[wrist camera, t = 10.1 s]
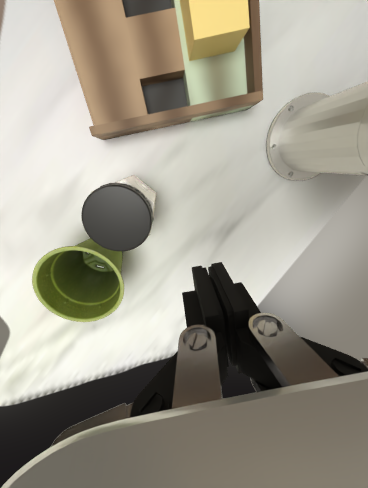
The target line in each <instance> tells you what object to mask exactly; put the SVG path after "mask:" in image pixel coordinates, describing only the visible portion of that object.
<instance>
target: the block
mask: <svg viewBox="0 0 368 488" xmlns="http://www.w3.org/2000/svg"><path fill="white" fill-rule="evenodd" d="M180 6H181V12H182V19H183V25H184V32H185V38H186V44H187V51H188V57H189V61H193V60H197V59H202V58H206V57H211V56H215V55H220V54H224V53H229V52H233V51H235V50H236V48H237V47H238V45H239V44H240V42H241V40H242V39H243V37H244V36H245V34H246V33H247V31H248V29H249V28H250V26H249V10H248V0H180Z"/></svg>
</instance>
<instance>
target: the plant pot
mask: <svg viewBox="0 0 368 488" xmlns="http://www.w3.org/2000/svg"><path fill="white" fill-rule="evenodd" d="M86 252H88V253H89V254H87V253H86ZM96 265H98V266H102V267H104V269H102V268H98V267H96ZM121 267H122V251H112V250H108V249H106V248H103V247H101V246H100V245H98V244H97V243H95V242H94V241H93V240H92V239H88V240H86V241H84V242H82V243H80V244H78V245H76V246H68V247H62V248H58V249H55V250H53V251H50V252H49V253H47V254H46V255H44V256H43V257H42V258H41V259H40V260H39V261H38V263H37V264H36V266H35V268H34V271H33V276H32V284H33V288H34V291H35V293H36V296H37V297H38V299H39V300H40V302H41V303H42V304H43V305H44V306H45V307H46V308H47V309H48V310H49V311H51V312H52V313H54V314H56V315H58V316H60V317H62V318H64V319H68V320H71V321H77V322H91V321H96V320H99V319H102V318H104V317H107V316H108V315H110V314H111V313H112V312H114V311H115V310H116V309H117V308H118V306H119V305H120V303H121V301H122V299H123V295H124V282H123V279H122V276H121Z"/></svg>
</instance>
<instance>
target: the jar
mask: <svg viewBox="0 0 368 488" xmlns="http://www.w3.org/2000/svg"><path fill="white" fill-rule="evenodd" d="M155 201H156V192H155V191H154V190H152V189H151V188H150V187H149V186H147V185H146V184H145V183H144V182H142V181H141V180H140V179H139V178H137V177H136V176H135V175H132V176H130V177H127V178H125V179H122V180H120V181H117V182H115V183H109V184H106V185H103V186H100V188H98V189H96V190H94V191H93V192H91V193H90V195H89V196H88V197H87V199H86V200H85V202H84V205H83V208H82V222H83V226H84V228H85V230H86V232H87V234H88V235H89V237H90V238H91V239H92V240H93V241H94V242H95V243H97V244H98V245H100V246H101V247H103V248H106V249H108V250H112V251H128V250H131V249H134V248H136V247H138V246H139V245H141V244H142V243H143V242H144V241H145V240H146V238H147V237H148V236H149V235H150V233H151V228H152V223H153V218H154V209H155Z"/></svg>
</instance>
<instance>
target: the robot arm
mask: <svg viewBox="0 0 368 488" xmlns="http://www.w3.org/2000/svg"><path fill="white" fill-rule="evenodd" d="M288 109H289V111H288ZM272 146H273V148H271V147H272ZM267 155H268V159H269V162H270V164H271V166H272V167H273V169H274V170H275V171H276V172H277V173H278V174H279V175H280V176H282V177H284V178H286V179H289V180H296V181H299V180H307V179H311V178H313V177H315V176H317V175H319V174H320V173H336V174H351V175H367V176H368V81H367V82H365V83H362V84H360V85H357V86H355V87H352V88H350V89H347V90H345V91H342V92H340V93H337V94H335V95H332V96H328V95H326V94H323V93H308V94H305V95H302V96H299V97H297V98H295V99H293V100H292V101H291V102H289V103H288V104H286V105H285V106H284V107H283V108H282V109H281V110H280V112H279V113H278V114H277V116H276V117H275V119H274V121H273V123H272V125H271V127H270V130H269V133H268V138H267ZM288 173H289V175H288ZM208 270H209V275H208V272H207V270H206V268H202V266H196V267H192V273H193V280H194V286H195V291H189V292H184V293H182V295H183V302H184V309H185V317H186V324H187V328H186V329H185V330H184V331H183V332H182V333H181V335H180V338H179V344H178V351H177V352H176V354H175V355H174V356H173V357H172V358H171V359H170V360H169V361H168V362H167V364H166V365H165V366H164V367H163V368H162V369H161V370H160V371H159V373H158V374H157V375H156V376H155V377H154V378H153V379H152V380H151V381H150V382H149V384H148V385H147V386H146V387H145V388H144V389H143V390H142V391H141V393H140V394H139V395H138V396H137V398H136V399H135V400H134V403H131V404H129V405H127V406H126V404H125V403H123V404H121V405H119V406H117V407H115V408H112V409H110V410H108V411H105V412H103V413H101V414H99V415H96V416H94V417H92V418H89V419H87V420H85V421H83V422H80V423H78V424H76V425H74V426H71V427H70V428H68V429H66V430H65V431H63V432H62V433H61V434H60V435H59V436H58V437H57V438H56V439H55V441H54V443H53V444H52V445H51V447H50V448H49V449H47V450H46V451H44V452H42V453H41V454H39V455H38V456H36V457H35V458H34V459H32V460H31V461H30V462H28V463H27V464H26V465H24V466H23V467H22V468H21V469H19V470H18V471H17V472H16V473H15V474H14V475H13V476H12V477H11V478H10V479H9V480H8V481H7V482H6V483H5V484H4V485H3V486H2V487H1V488H368V358H362V360H361V361H358V360H357V359H355V358H353V357H351V356H349V355H347V354H344V353H342V352H339V351H337V350H334V349H331V348H329V347H326V346H323V345H321V344H318V343H316V342H313V341H310V340H308V339H305V338H303V337H300V336H299V335H297V334H296V332H294V330H293V329H292V328H291V327H290V326H289V325H288V324H287V323H286V322H285V321H284V320H282V319H281V318H280V317H278V316H276V315H274V314H270V313H261V312H260V311H259V309H258V307H257V306H256V304H255V303H254V301H253V300H252V298H251V296H250V295H249V293H248V292H247V290H246V289H245V287H244V285H243V284H242V283H241V282H240V283H235V284H234V283H233V281H232V280H231V278H230V276H229V274H228V273H227V271H226V269H225V267H224V266H223V264H222V262H219V263H214V264H212V265H211V267H208ZM227 353H228V354H227ZM228 356H229V359H230V362H231V365H232V366H236V367H237V370H238V373H244V374H245V375H247V376H249V377H251V382H252V384H253V387H254V388H255V390H256V393H251V394H246V395H240V396H235V397H231V398H225V399H223V398H222V389H221V386H222V384H223V383H224V381H225V380H226V378H227V376H228V373H227V367H228V366H229V365H228Z"/></svg>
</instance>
